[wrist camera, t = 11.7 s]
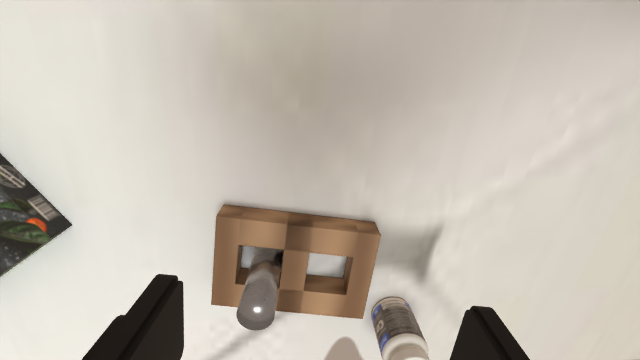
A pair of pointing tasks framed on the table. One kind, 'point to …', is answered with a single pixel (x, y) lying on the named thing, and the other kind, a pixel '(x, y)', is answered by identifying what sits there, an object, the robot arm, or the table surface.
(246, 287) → the peg
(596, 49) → the table surface
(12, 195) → the pizza box
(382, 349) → the pill bottle
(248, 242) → the hole block
